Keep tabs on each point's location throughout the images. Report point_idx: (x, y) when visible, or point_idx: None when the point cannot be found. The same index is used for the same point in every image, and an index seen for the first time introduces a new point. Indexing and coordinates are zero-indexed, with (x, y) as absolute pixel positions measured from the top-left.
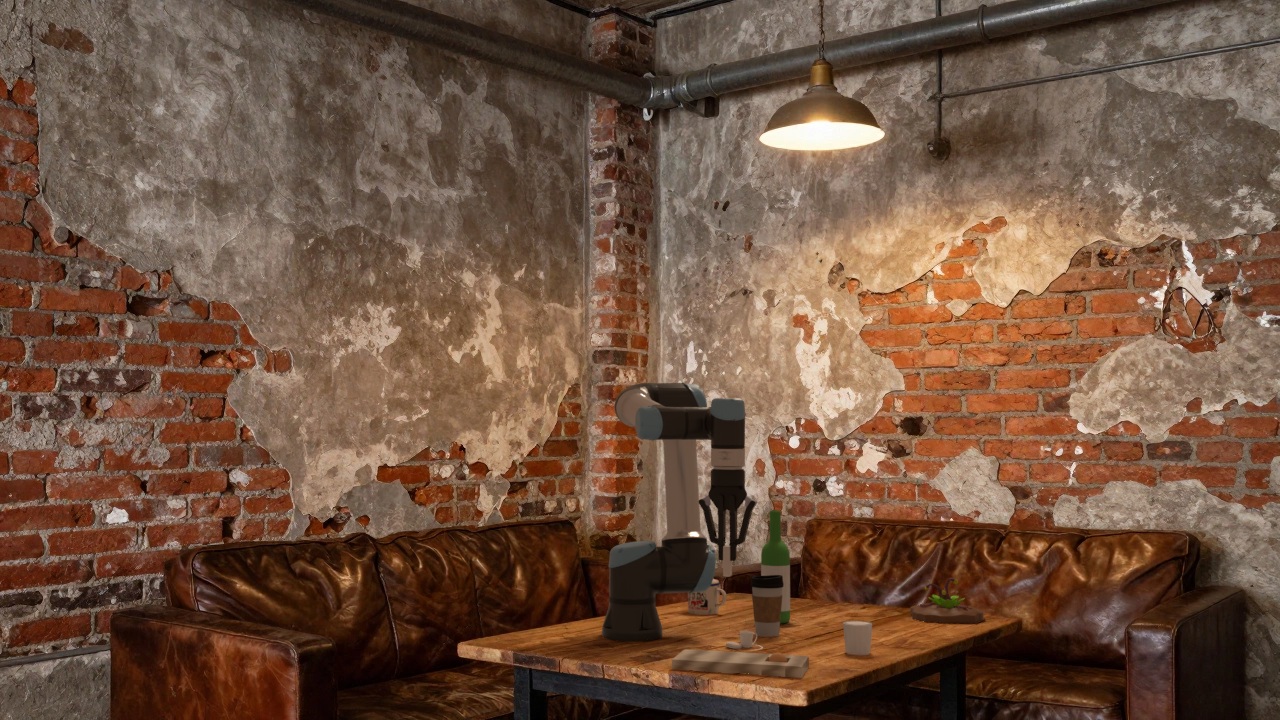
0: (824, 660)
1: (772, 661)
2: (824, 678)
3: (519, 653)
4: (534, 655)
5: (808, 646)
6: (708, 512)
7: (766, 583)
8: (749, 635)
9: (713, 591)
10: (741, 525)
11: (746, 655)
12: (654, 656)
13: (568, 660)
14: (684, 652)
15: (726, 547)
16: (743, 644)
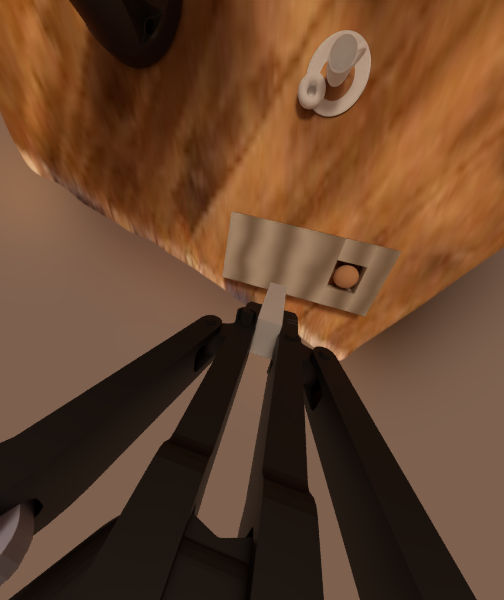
0: (444, 191)
1: (336, 284)
2: (389, 308)
3: (60, 183)
4: (78, 194)
5: (487, 16)
6: (98, 471)
7: None
8: (345, 73)
9: None
10: (319, 456)
11: (309, 251)
12: (198, 185)
13: (119, 220)
14: (232, 234)
15: (260, 353)
16: (330, 83)
